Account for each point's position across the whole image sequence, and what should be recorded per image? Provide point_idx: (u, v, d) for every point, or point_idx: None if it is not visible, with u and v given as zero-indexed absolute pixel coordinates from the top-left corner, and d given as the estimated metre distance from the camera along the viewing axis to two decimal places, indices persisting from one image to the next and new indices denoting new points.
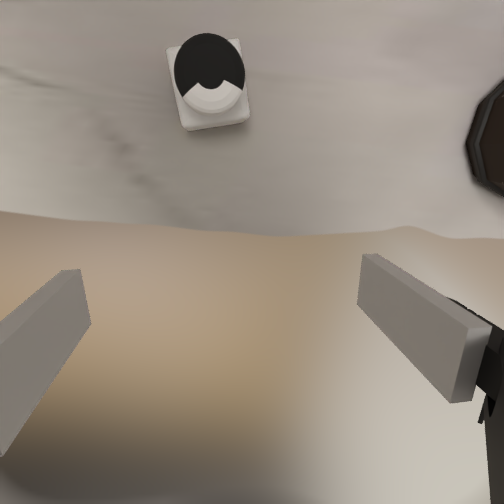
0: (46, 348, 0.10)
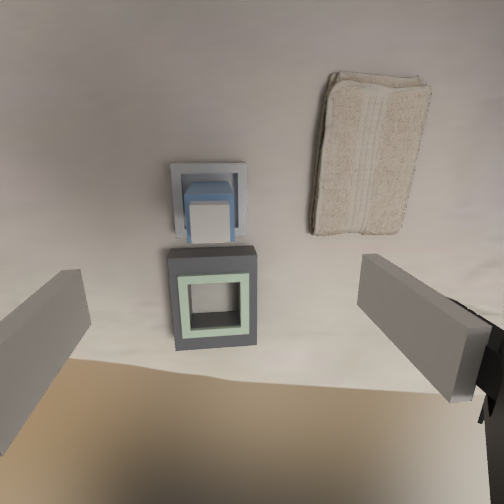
0: (46, 348, 0.10)
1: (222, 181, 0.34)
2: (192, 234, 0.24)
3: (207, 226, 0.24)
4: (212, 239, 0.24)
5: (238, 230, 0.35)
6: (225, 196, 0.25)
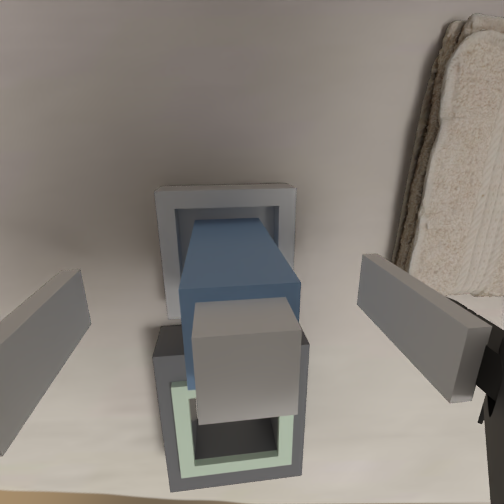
0: (46, 348, 0.10)
1: (249, 218, 0.19)
2: (200, 404, 0.09)
3: (239, 384, 0.09)
4: (252, 411, 0.09)
5: None
6: (280, 289, 0.10)
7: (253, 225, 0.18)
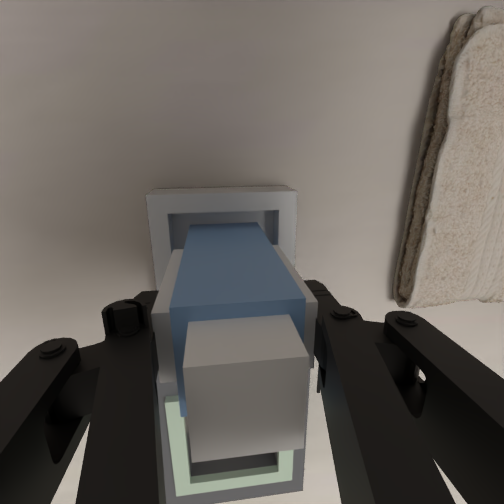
0: None
1: (247, 223, 0.18)
2: (194, 440, 0.08)
3: (238, 416, 0.08)
4: (253, 446, 0.08)
5: None
6: (283, 305, 0.09)
7: (252, 230, 0.17)
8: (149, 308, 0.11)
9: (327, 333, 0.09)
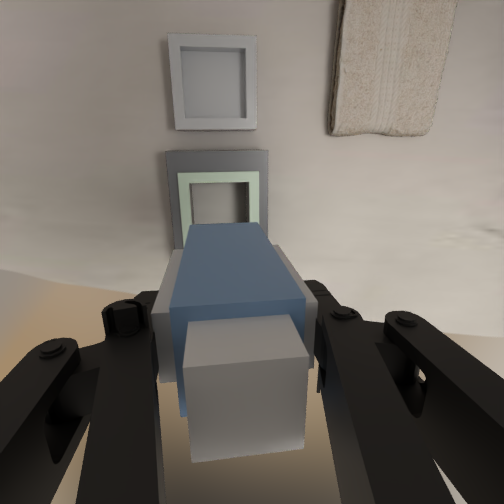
0: None
1: (247, 223, 0.18)
2: (194, 440, 0.08)
3: (238, 417, 0.08)
4: (253, 446, 0.08)
5: (246, 121, 0.31)
6: (283, 305, 0.09)
7: (252, 230, 0.17)
8: (149, 308, 0.11)
9: (327, 333, 0.09)
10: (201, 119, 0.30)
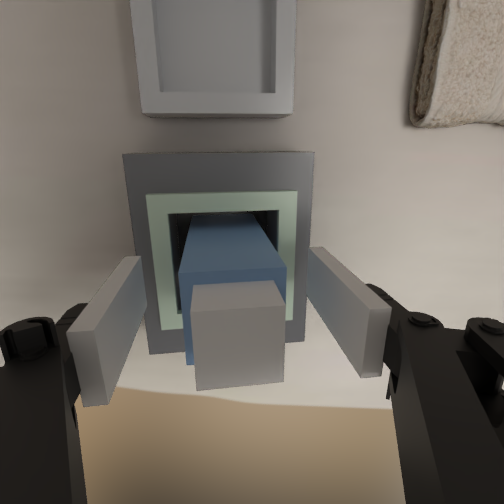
0: (126, 321, 0.12)
1: (243, 214, 0.21)
2: (198, 372, 0.10)
3: (232, 353, 0.10)
4: (244, 378, 0.11)
5: (275, 99, 0.17)
6: (269, 273, 0.12)
7: (247, 220, 0.19)
8: None
9: (403, 338, 0.09)
10: (191, 94, 0.16)
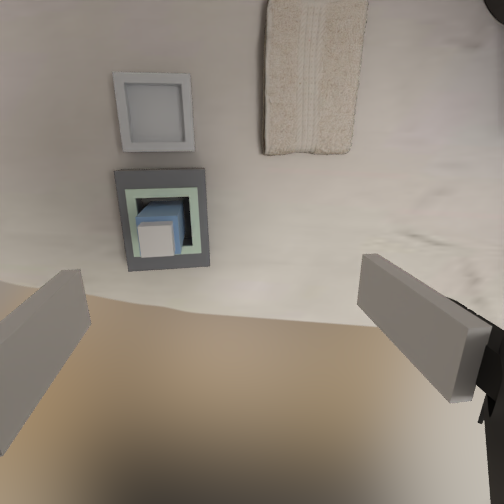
0: (46, 348, 0.10)
1: (177, 200, 0.40)
2: (141, 250, 0.29)
3: (153, 243, 0.29)
4: (158, 253, 0.29)
5: (185, 144, 0.36)
6: (170, 217, 0.31)
7: (177, 202, 0.38)
8: None
9: None
10: (145, 143, 0.35)
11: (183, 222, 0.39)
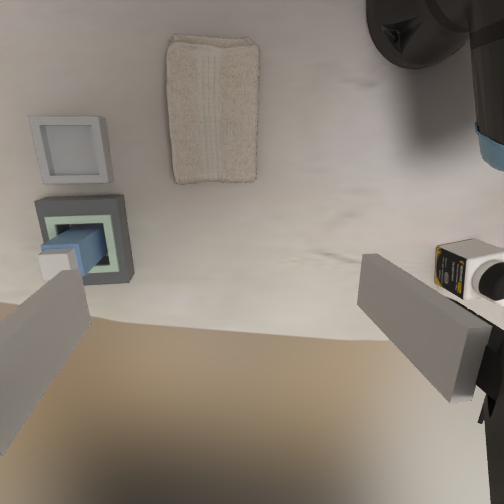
0: (46, 348, 0.10)
1: (101, 223, 0.44)
2: (43, 274, 0.34)
3: (53, 268, 0.34)
4: None
5: (99, 177, 0.40)
6: (72, 245, 0.35)
7: (97, 226, 0.43)
8: None
9: None
10: (63, 176, 0.40)
11: (103, 244, 0.43)
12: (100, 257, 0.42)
